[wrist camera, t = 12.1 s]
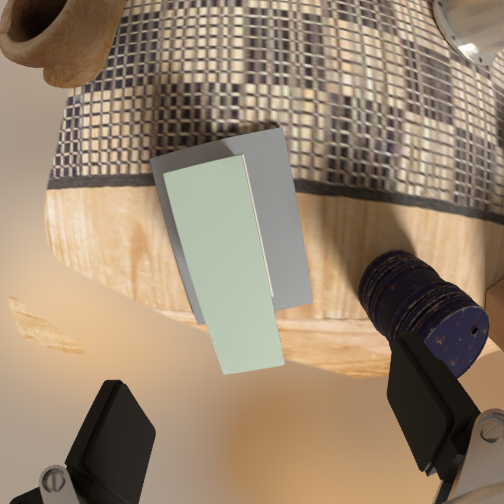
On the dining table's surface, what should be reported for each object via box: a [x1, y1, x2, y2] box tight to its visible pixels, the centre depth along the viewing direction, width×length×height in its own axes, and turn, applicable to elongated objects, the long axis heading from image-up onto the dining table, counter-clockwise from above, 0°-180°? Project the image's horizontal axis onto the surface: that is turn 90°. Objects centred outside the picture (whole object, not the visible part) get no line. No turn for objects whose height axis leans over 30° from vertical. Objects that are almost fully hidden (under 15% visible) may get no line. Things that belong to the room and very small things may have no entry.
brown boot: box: [0, 0, 127, 88], centre depth 17 cm, size 15×12×15 cm
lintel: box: [163, 155, 285, 375], centre depth 22 cm, size 16×5×4 cm, turn 12°
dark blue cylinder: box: [359, 250, 490, 379], centre depth 28 cm, size 10×10×15 cm
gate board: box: [150, 127, 313, 325], centre depth 28 cm, size 20×14×9 cm
